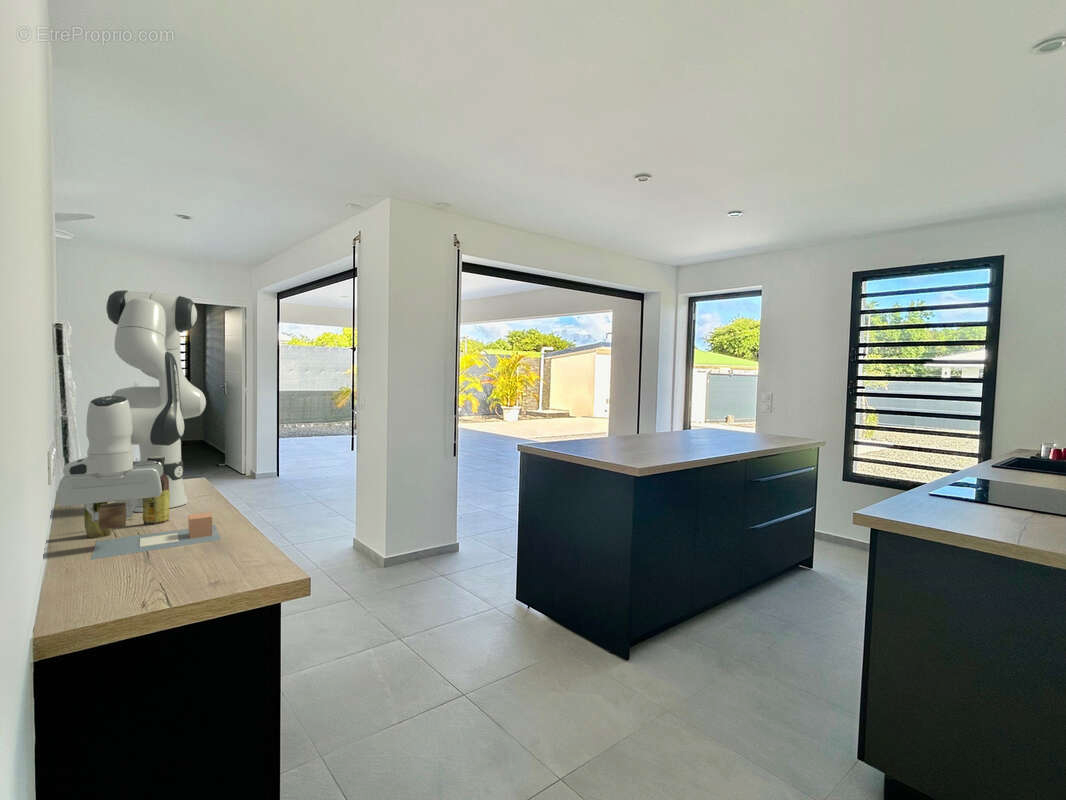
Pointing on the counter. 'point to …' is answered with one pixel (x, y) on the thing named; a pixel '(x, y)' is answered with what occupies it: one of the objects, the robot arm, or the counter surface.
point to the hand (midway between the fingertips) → (112, 518)
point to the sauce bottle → (157, 500)
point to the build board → (149, 542)
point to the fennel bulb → (94, 524)
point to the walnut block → (112, 515)
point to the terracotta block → (200, 525)
